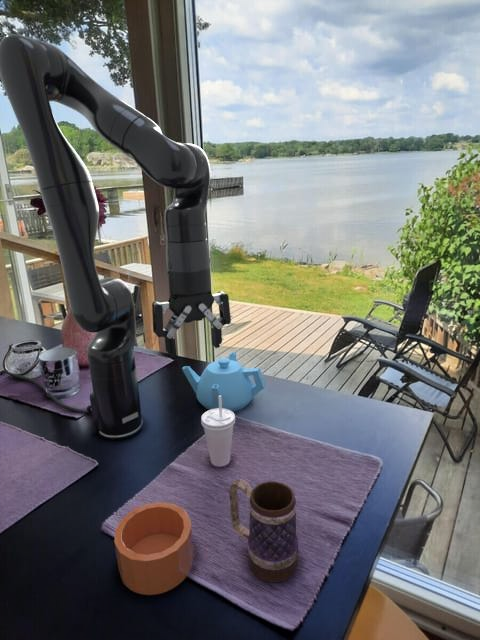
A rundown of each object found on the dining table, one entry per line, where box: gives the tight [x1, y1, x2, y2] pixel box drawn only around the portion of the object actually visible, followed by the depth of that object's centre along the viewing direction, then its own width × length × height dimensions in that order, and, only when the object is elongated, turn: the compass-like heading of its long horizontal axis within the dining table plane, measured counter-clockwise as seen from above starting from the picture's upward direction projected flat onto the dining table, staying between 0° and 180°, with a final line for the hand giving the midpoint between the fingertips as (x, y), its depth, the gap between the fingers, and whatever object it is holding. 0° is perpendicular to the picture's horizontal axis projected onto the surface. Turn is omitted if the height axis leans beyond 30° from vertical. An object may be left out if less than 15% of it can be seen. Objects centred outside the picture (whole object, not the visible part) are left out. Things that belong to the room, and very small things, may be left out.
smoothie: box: [200, 395, 236, 467], centre depth 83 cm, size 6×6×14 cm
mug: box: [228, 478, 299, 583], centre depth 61 cm, size 10×7×12 cm
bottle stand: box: [113, 501, 194, 596], centre depth 62 cm, size 10×10×6 cm
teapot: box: [181, 351, 266, 413], centre depth 105 cm, size 15×15×11 cm
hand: (194, 350), depth 82 cm, fingers open, 8 cm apart
